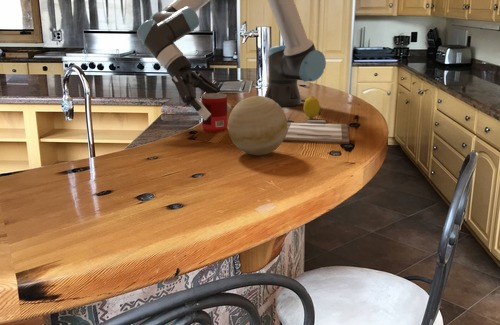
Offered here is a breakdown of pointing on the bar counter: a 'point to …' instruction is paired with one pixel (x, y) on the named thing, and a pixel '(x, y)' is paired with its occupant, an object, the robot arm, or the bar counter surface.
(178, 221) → the bar counter surface
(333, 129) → the clipboard
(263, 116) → the decorative ball
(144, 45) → the robot arm
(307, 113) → the lemon
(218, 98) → the canned food
